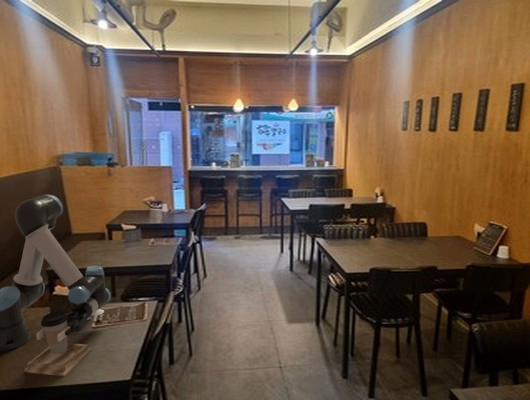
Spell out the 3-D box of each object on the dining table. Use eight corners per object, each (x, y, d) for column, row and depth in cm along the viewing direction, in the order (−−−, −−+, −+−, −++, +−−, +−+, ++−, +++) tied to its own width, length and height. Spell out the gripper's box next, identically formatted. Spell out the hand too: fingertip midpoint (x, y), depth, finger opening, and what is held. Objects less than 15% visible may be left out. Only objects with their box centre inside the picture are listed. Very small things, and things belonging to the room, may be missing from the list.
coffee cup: (75, 350, 151) (70, 315, 148) (49, 360, 144) (43, 324, 141) (67, 341, 157) (63, 307, 154) (42, 350, 151) (37, 316, 148)
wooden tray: (24, 371, 145) (23, 364, 144) (55, 346, 161) (54, 340, 161) (64, 376, 142) (63, 369, 141) (91, 350, 158) (91, 343, 158)
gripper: (107, 318, 165) (73, 348, 144) (64, 315, 169) (25, 344, 147) (105, 303, 164) (71, 330, 142) (62, 300, 167) (22, 326, 145)
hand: (47, 337), depth 145 cm, fingers closed on coffee cup, 8 cm apart
